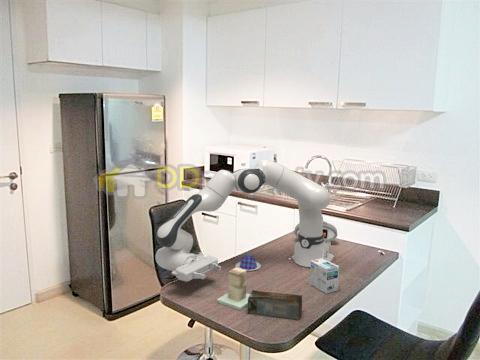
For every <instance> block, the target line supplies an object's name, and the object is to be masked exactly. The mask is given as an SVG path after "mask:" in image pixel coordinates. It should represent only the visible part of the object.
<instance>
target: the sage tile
mask: <svg viewBox="0 0 480 360" xmlns="http://www.w3.org/2000/svg"><path fill="white" fill-rule="evenodd" d="M250 294H251V293H247V292H246V298H244V299H243V300H241V301H240V302H237V301H234V300H231V299H228V292H227V293H226V294H223V295H222V296H220V297H218V298H216V303H218V304H219V305H220V304H221V305H224V306H226V307H229V308H232V309H235V310H237V311H242V310H244V309H246V308H248V297H249V296H250Z"/></svg>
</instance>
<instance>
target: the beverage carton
mask: <svg viewBox="0 0 480 360" xmlns="http://www.w3.org/2000/svg"><path fill="white" fill-rule="evenodd" d="M249 294H250V296H249V297H248V306H247V313H248V314H252V315H259V316H267V317H275V318H285V319H292V320H297V321H298V320H300V318H301V314H302V309H303V295H302V294H301V295H300V294H291V293H290V294H289V293H280V292H270V291H260V290H255V289H253V290H252V291H251V292H250V293H249Z"/></svg>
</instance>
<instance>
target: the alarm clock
mask: <svg viewBox="0 0 480 360" xmlns="http://www.w3.org/2000/svg"><path fill="white" fill-rule="evenodd" d="M293 232H294V235H295V236H296V238H298V233H299V223H298V224H296V226H295V227H294V230H293ZM323 233H325V234H326V236H325V237H324V242H325V243H326V244H327V245H328V246H332V244H331V243H332V241H334V240H336V238H337V237H338V229H337V228H336V227H335V226H334V225H333V224H332V223H329V222H327V221H325V220H323Z"/></svg>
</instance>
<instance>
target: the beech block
mask: <svg viewBox="0 0 480 360" xmlns="http://www.w3.org/2000/svg"><path fill="white" fill-rule="evenodd" d="M247 272H248V271H247V269H242V268H241V269H240V268H237V267H236V266H235V267H234V268H232V269H231V270H229V271H228V275H227V282H228V283H227V293H228V299H231V300H234V301H237V302H240V301H241V300H243V299H244V298H246V293H247Z"/></svg>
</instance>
